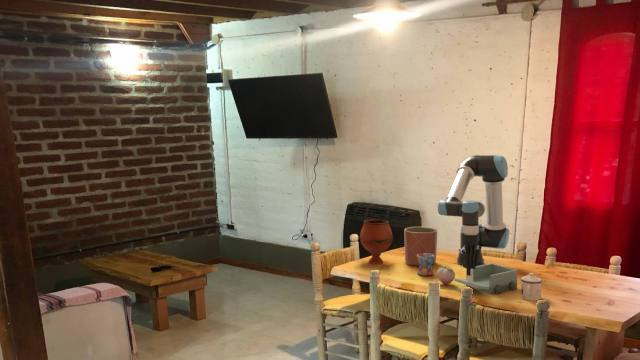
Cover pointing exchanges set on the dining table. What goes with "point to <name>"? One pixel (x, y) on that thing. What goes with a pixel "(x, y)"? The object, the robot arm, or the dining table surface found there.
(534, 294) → the teacup with lid
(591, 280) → the dining table surface
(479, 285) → the tailgate
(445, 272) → the decorative fruit
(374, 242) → the goblet
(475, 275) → the truck bed
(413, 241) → the planter
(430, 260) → the mug
